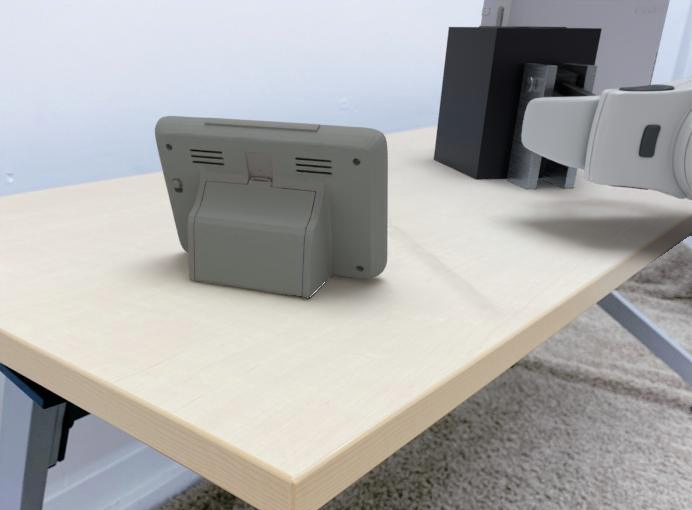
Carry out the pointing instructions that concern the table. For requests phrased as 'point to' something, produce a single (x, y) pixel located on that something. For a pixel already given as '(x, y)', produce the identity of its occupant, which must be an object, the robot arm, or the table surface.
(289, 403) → the table surface
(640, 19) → the game console
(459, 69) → the toaster
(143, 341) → the table surface
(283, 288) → the digital clock
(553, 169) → the lever bracket
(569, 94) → the toaster lever
